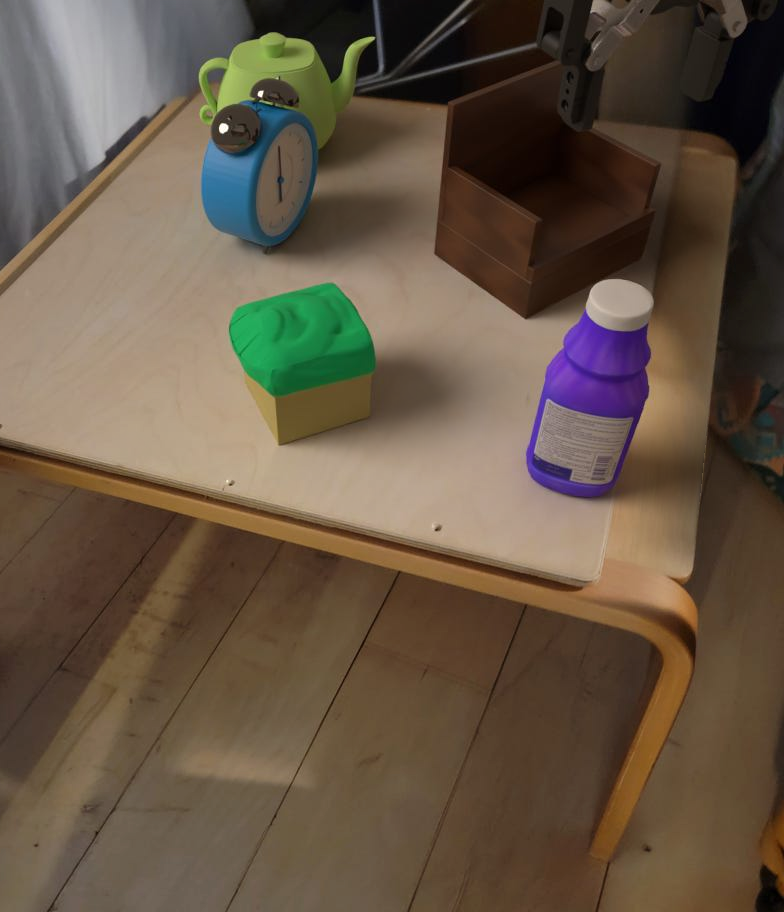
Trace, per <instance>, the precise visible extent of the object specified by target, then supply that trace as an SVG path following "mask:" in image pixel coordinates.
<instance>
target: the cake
mask: <svg viewBox="0 0 784 912" xmlns="http://www.w3.org/2000/svg"><path fill="white" fill-rule="evenodd" d="M228 336H229V341H230V345H231V348H232V350H233V352H234V354H235V355H236V357H237V359H238V361H239V363H240V365H241V367H242V369H243V374H244V383H245V385H246V387H247V389H248V391H249V392H250V394H251V396H252V398H253V400H254V402H255V404H256V406H257V408H258V409H259V411H260V413H261V416H262V417H263V419H264V421H265V423H266V424H267V426H268V428H269V430H270V432H271V434H272V436H273V438H274V440H275V441H276V443H277V445H278V446H281V445H283V444H284V445H285V444H287V443H290V442H294V441H296V440H300V439H303V438H306V437H310V436H312V435H317V434H319V433H322V432H325V431H329V430H332V429H335V428H338V427H341V426H345V425H348V424H351V423H354V422H358V421H361V420H364V419H367V418H370V417H371V416H370V415H371V395H372V394H371V393H372V391H371V388H372V378H373V375H374V373H375V370H376V367H377V360H376V352H375V345H374V341H373V338H372V335H371V332H370V331H369V328H368V327H367V325H366V324H365V322H364V320H363V319H362V317H361V315H360V313H359V310H358V309H357V308H356V306H355V304H354V303H353V302H352V300H351V299H350V298H349V297H348V296H347V295H346V294H345V293H344V292H343V291H342V290H341V288H340V287H339V286H338V285H337V284H335V282H331V281H330V282H324V283H319V284H316V285H315V284H314V285H312V286H309V287H305V288H302V289H301V288H300V289H297V290H292V291H289V292H285V293H280V294H277V295H273V296H270V297H266V298H263V299H258V300H255V301H252V302H248V303H245V304H242V305H240V306H237V307H236V308H235V310H234V312H233V314H232V316H231V318H230V322H229V325H228Z"/></svg>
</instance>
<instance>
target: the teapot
mask: <svg viewBox="0 0 784 912" xmlns="http://www.w3.org/2000/svg"><path fill="white" fill-rule="evenodd" d="M375 39H376V36H368V37H364V38H361V39H358V40H355V41H354V42H353V43H351V44H350V45H349V46H348V48H347V50H346V52H345V55H344V59H343V64H342V70H341V73H340V75H339V77H337V78H336V80H334V81H333V82H331V78H330V76H329V74H328V72H327V69H326V67H325V65H324V64H323V61H322V59H321V57H320V55H319V53H318V51H317V50H316V47H315V46H314V44H312V43H311V42H310V41H308V40H305V39H300V38H293V37H286V36H285V35H283V34H281V33H279V32H275V31H274V32H268V33H267V34H264V35H262V36H260V37H259V38H258V39H257V38H256V39H251V40H246V41H244V42H240V43H239V44H237V45H236V46H235V47H233V50H232V52H231V54H230V55H229V59H228V58H226V57H214V58H211V59H209V60H207V61H206V62H205V63H203V65H202V66H201V67H200V69H199V72H198V83H199V86H200V89H201V92H202V94H203V96H204V98H205V100H206V102H207V104H204V105H203V106H202V107H200V110H199V118H200V121H201V122H202V124H204V125H205V126H208V127H211V124H212V121H213V119H214V117H215V115H216V114H217V113H218V112H219V111H220V110H221V109H222V108H224V107H226V106H228V105H231V104H237V103H239V102H241V101H245V100H254V99H255V98H252V97H249V95H250V91H251V88H252V87H253V85H254V84H255V83H256V82H258V81H259V80H262V79H265V78H275V79H276V78H277V75H278V76H281V77H280V80H283V81H286V82H288V83H289V84H291V85H292V86H293V87H294V88H295V89H296V91H297V93H298V95H299V108H295V107H290V106H285V105H280V104H276V103H275V106H278V107H282V108H286V109H290V110H294V111H298V112H300V113H302V114H304V115H305V116H306V117H307V118H308V119H309V120H310V122H311V123H312V125H313V127H314V130H315V134H316V138H317V145H318V151H319V150H320V149H322V148H323V147H324V146H325V145H326V144H327V143H328V141H329V140H330V138H331V136H332V135H333V133H334V131H335V127H336V123H337V115H339V114H340V113H341V112H342V111H344V110H345V109H346V108H347V107H348V105H349V104H350V102H351V100H352V98H353V96H354V93H355V88H356V83H357V71H358V64H359V60H360V57H361V55H362V53H363V51H364V50H365V49H366V48H367V47H368V46H369V45H371V43H373V42H374V41H375ZM215 69H224V72H223V75H222V77H221V81H220V84H219V88H218V95H217V99H216V97H215V95H214V93H213V92H212V91H213V90H212V89H211V87H210V84H209V80H208V73H209V72H210V71H212V70H215ZM258 102H262V103H266V104H270V105H272V103H271V102H267V101H263V100H260V101H258ZM209 111H210V112H212V116H210V115H208V114H207V112H209Z"/></svg>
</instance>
